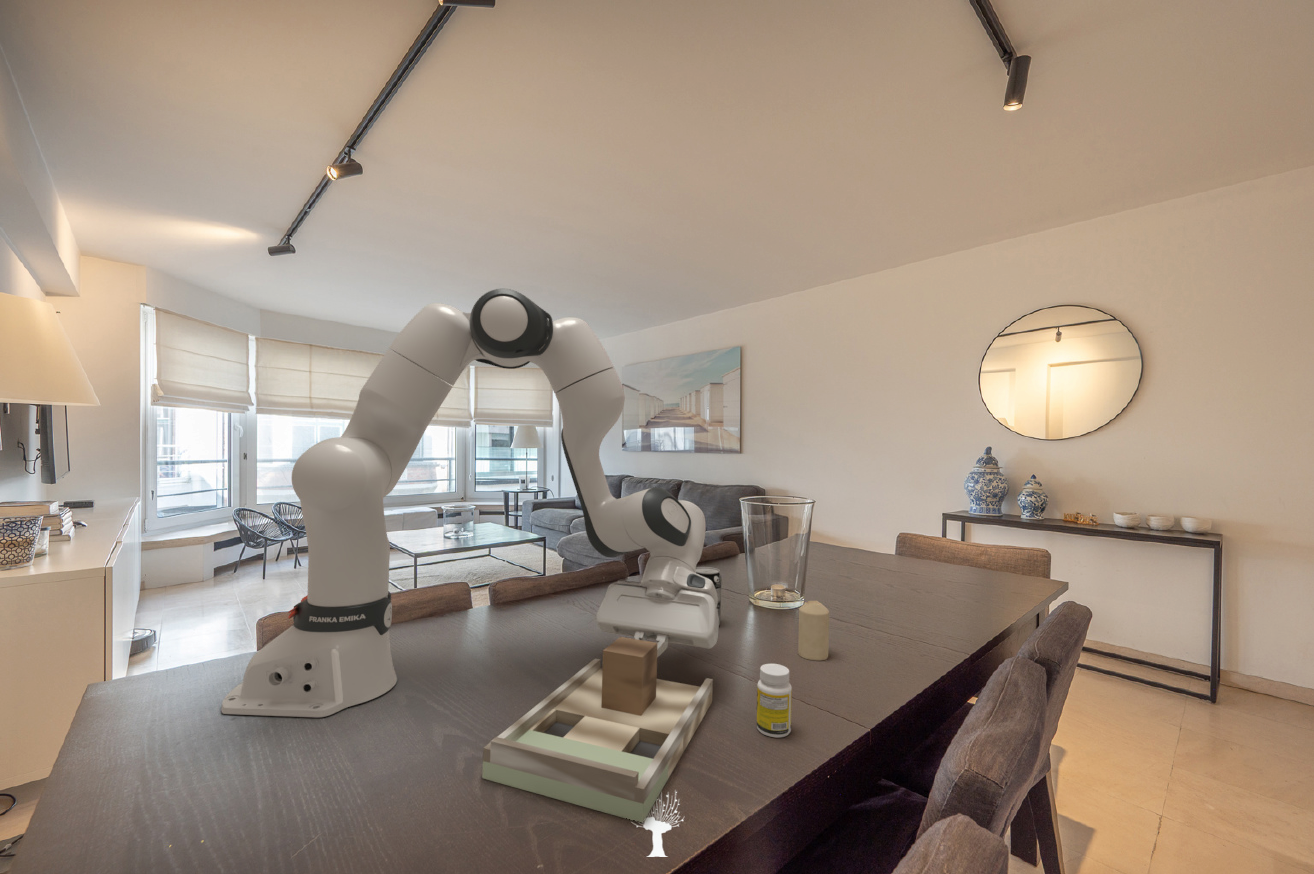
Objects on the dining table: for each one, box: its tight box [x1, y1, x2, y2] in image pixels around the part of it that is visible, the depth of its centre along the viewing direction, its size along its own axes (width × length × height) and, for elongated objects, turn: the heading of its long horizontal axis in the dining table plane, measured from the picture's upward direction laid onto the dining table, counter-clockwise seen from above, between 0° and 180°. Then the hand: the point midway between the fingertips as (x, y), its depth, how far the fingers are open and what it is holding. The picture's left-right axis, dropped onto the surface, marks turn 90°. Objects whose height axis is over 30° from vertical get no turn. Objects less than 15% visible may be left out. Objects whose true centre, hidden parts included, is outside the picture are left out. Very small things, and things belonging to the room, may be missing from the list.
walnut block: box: [601, 636, 658, 716], centre depth 79 cm, size 6×6×8 cm
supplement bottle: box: [756, 663, 793, 739], centre depth 77 cm, size 5×5×8 cm
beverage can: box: [696, 566, 723, 625], centre depth 121 cm, size 7×7×12 cm
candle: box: [797, 600, 830, 662], centre depth 105 cm, size 6×6×10 cm
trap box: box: [482, 658, 714, 804], centre depth 74 cm, size 29×20×4 cm
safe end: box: [481, 730, 669, 823], centre depth 64 cm, size 8×20×2 cm, turn 70°
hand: (644, 663), depth 85 cm, fingers closed
